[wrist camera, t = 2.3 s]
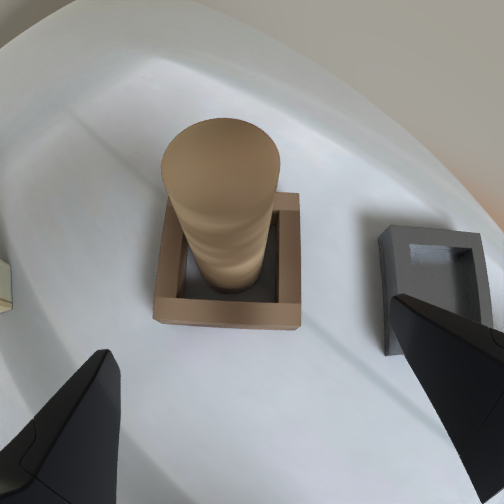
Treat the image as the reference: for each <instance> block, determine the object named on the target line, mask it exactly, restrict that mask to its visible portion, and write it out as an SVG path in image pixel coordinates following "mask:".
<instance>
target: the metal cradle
mask: <svg viewBox="0 0 504 504" xmlns="http://www.w3.org/2000/svg"><path fill="white" fill-rule="evenodd" d="M378 242H379V252H380V262H381V274H382V287H383V304H384V327H385V356H391V355H404V354H403V351H402V349H401V347H400V345H399V343H398V340H397V338H396V336H395V334H394V332H393V330H392V328H391V326H390V323H389V320H388V313H389V306H390V300H391V297H392V296H393V295H397V294H400V293H404V294H407V295H409V296H412V297H415V298H417V299H420V300H422V301H425V302H427V303H430V304H432V305H435V306H438V307H440V308H443V309H445V310H448V311H450V312H453V313H455V314H458V315H460V316H463V317H465V318H468V319H470V320H473V321H475V322H478V323H480V324H483V325H485V326H488V328H489V327H490V328H493V318H492V307H491V298H490V289H489V282H488V275H487V268H486V262H485V257H484V251H483V246H482V241H481V236H480V233H471V232H461V231H452V230H441V229H431V228H420V227H408V226H396V225H390V226H389V227H388V228H387V229H386V230H385V231H384V232H383V233H382V234H381V235H380V236H379V237H378Z"/></svg>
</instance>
